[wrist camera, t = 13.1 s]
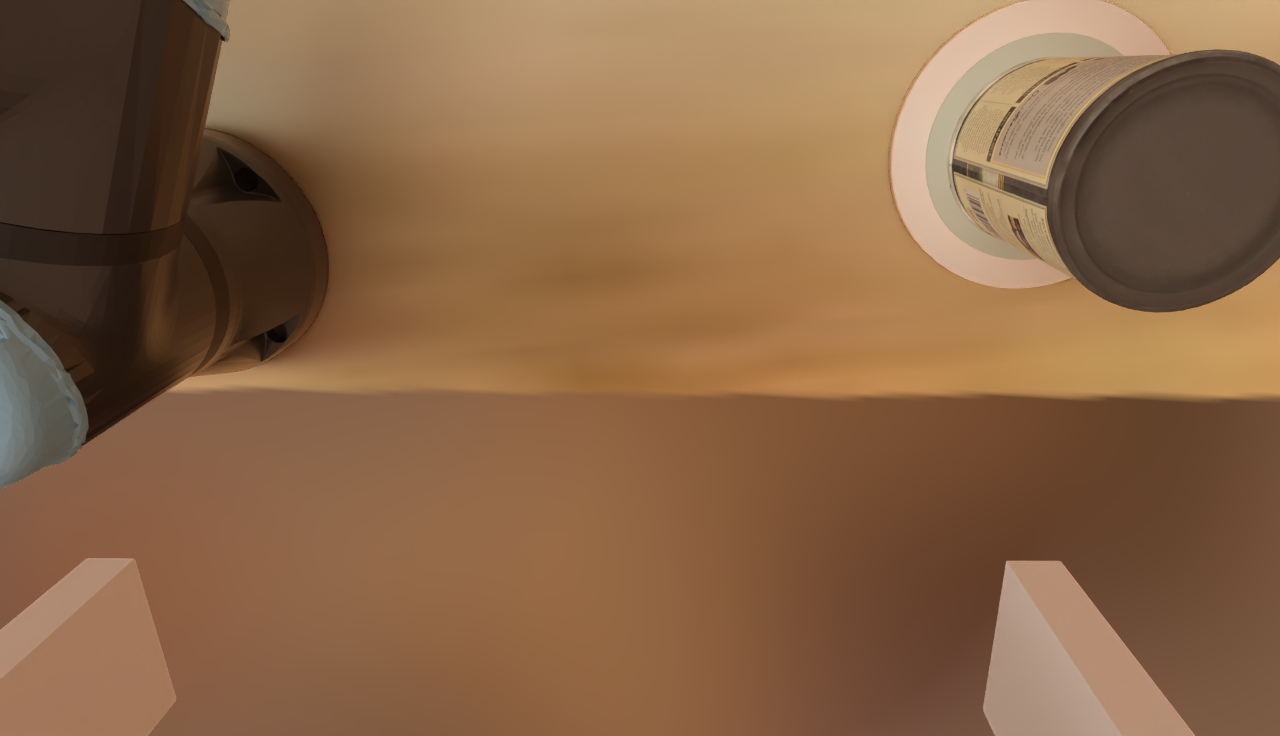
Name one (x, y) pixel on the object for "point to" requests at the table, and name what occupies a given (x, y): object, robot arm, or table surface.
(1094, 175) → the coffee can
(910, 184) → the plate
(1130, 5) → the table surface
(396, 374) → the table surface
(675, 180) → the table surface
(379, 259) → the table surface
